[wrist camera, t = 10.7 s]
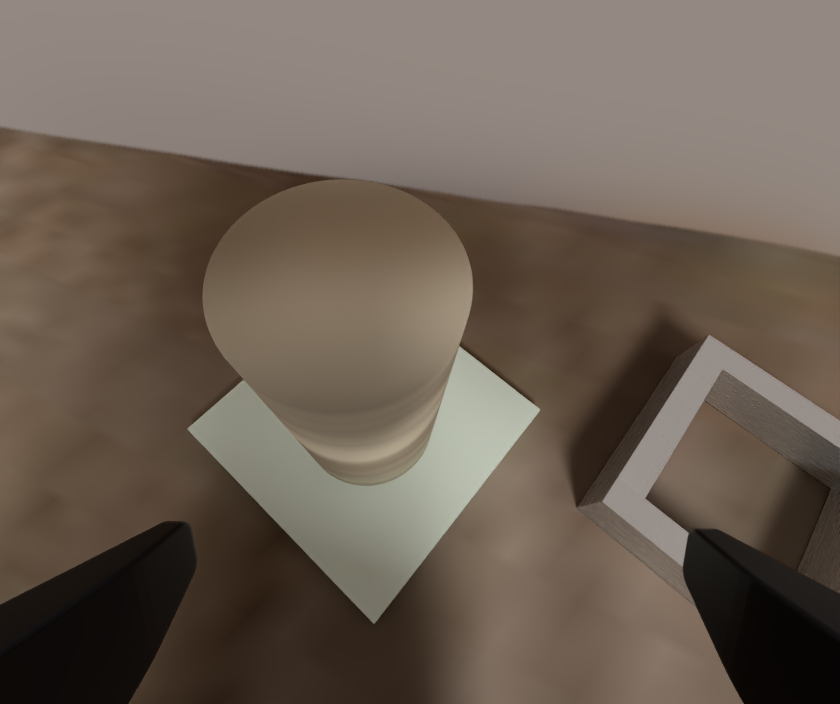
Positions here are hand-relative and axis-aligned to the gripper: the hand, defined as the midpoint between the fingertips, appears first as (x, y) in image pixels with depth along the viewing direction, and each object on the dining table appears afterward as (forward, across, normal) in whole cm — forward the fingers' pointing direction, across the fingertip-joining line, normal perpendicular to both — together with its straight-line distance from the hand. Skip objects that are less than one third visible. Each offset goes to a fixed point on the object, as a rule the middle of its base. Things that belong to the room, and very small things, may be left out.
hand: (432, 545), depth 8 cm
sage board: (+11, +3, +3) cm, 12 cm away
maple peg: (+11, +3, +2) cm, 12 cm away
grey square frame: (+11, -13, +6) cm, 18 cm away
